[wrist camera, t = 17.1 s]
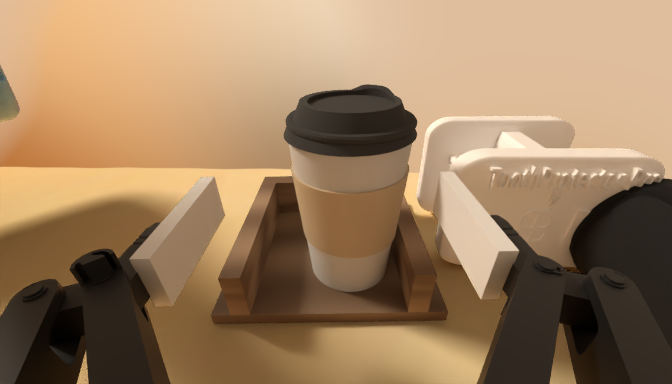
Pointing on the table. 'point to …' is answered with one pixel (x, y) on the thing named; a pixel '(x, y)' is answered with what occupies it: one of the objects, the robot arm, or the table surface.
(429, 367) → the table surface
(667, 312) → the portable speaker
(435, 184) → the cable organizer
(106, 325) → the robot arm
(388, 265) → the brown wooden tray
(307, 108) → the coffee cup
